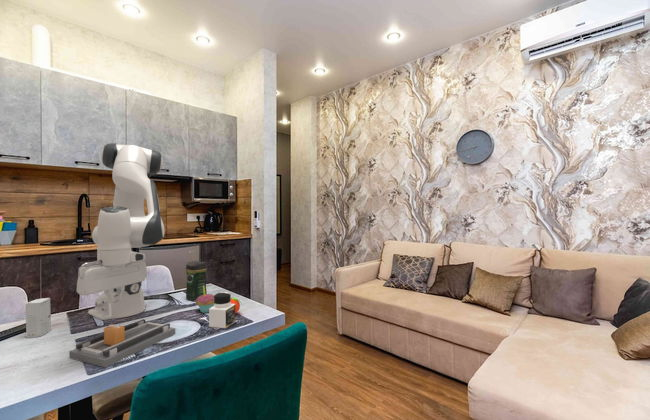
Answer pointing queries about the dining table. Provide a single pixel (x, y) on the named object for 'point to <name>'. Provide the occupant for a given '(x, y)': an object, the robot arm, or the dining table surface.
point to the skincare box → (38, 317)
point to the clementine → (237, 304)
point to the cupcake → (205, 301)
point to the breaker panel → (95, 351)
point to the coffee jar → (195, 279)
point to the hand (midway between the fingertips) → (114, 301)
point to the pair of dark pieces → (127, 343)
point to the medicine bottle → (222, 311)
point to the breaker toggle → (114, 334)
